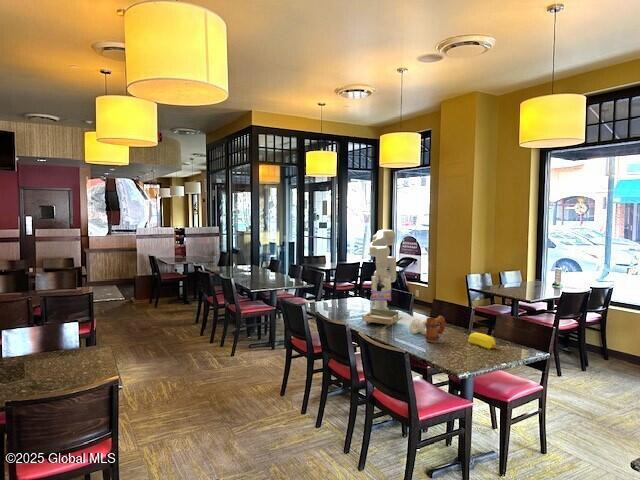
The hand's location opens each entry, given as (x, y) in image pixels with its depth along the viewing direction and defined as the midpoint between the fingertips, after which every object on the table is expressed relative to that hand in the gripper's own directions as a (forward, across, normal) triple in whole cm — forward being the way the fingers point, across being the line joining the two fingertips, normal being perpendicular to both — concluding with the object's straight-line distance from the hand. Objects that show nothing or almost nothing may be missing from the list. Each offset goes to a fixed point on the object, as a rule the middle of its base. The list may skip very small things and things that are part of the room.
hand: (381, 290), depth 306 cm
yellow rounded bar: (+24, +18, +70) cm, 76 cm away
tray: (+22, +1, 0) cm, 22 cm away
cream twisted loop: (+24, +12, +30) cm, 40 cm away
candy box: (+7, 0, 0) cm, 7 cm away
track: (+23, -5, 0) cm, 24 cm away
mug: (+23, +24, +44) cm, 55 cm away
